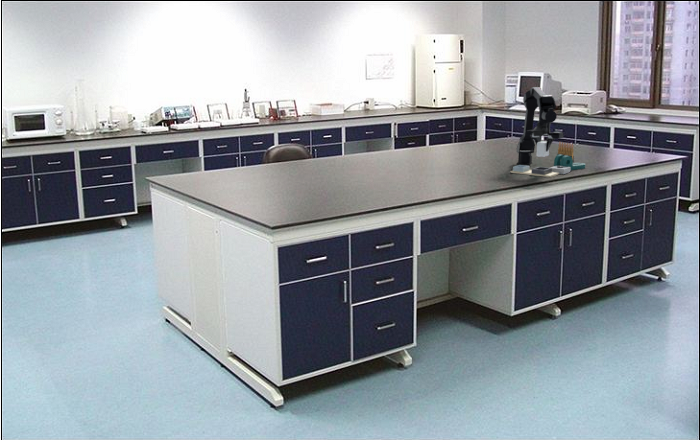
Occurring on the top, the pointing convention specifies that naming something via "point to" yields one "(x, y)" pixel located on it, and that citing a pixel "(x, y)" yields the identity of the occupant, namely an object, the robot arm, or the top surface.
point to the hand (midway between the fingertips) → (542, 151)
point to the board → (536, 174)
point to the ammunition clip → (566, 150)
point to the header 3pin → (521, 168)
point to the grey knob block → (561, 169)
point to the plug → (542, 149)
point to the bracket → (567, 162)
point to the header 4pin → (541, 170)
